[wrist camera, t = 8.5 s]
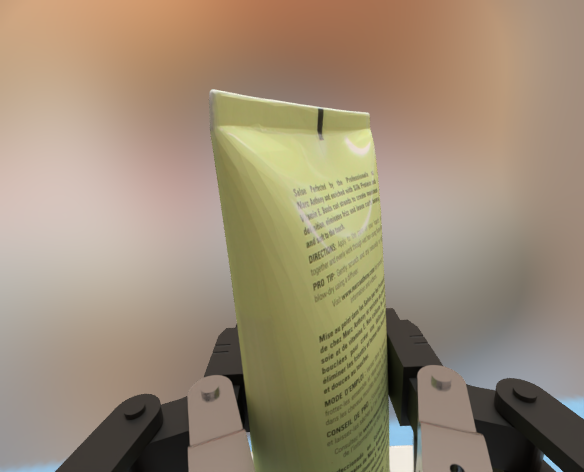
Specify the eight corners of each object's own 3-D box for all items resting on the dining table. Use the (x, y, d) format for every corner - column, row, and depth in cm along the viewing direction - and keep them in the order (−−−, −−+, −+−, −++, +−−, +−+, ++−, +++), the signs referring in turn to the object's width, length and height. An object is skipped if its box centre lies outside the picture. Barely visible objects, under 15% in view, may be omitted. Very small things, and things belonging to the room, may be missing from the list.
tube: (263, 525, 17) (224, 114, 11) (360, 507, 17) (370, 108, 12) (273, 711, 11) (205, 89, 6) (413, 675, 12) (480, 81, 6)
